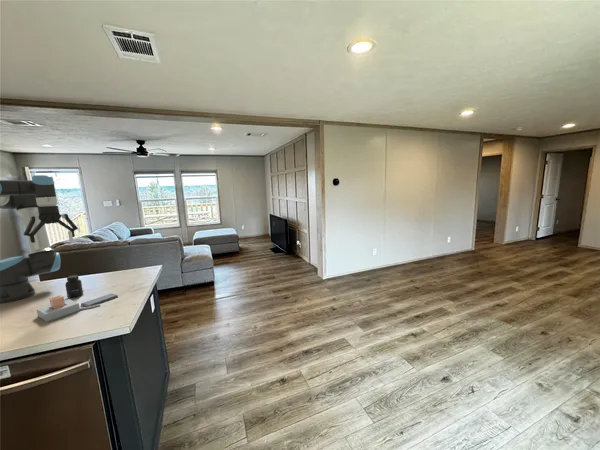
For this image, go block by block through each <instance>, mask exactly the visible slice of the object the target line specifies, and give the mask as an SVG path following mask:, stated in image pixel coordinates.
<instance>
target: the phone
mask: <svg viewBox="0 0 600 450" xmlns="http://www.w3.org/2000/svg"><path fill="white" fill-rule="evenodd" d="M116 298H119V296H118V295H117V294H115V293H108V294H106V295H103V296H99V297H96V298H94V299H91V300H88V301H84V302H81V303H80V306H82V307H83V308H84V307H88V306H93V305H98V304H103V303H105V302H108V301H110V300H111V301H112V300H114V299H116Z"/></svg>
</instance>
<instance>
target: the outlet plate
mask: <svg viewBox="0 0 600 450" xmlns="http://www.w3.org/2000/svg"><path fill="white" fill-rule="evenodd" d="M64 301H65V306H63V307H60V308H56V309H53V310H52V309H51V304H49V305H45V306H42V307H39V308H36V313H37V317H38V318H39V319H41V320H42V321H44V322H45V323H50V322H52V321H54V320H58V319H61V318H64V317H67V316H69V315H72V314H75V313H78V312H81V310H80V308H81V307H80V302H77V301H74V300H72V299H70V298H67V299H64Z"/></svg>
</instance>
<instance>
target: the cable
mask: <svg viewBox="0 0 600 450" xmlns="http://www.w3.org/2000/svg"><path fill="white" fill-rule="evenodd" d="M101 304H102V303H100V304H97V305H93V306H88V307H84V306H83V307H80V311H83V310H88V309H93V308H97V307H100V306H101Z"/></svg>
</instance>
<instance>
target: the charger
mask: <svg viewBox="0 0 600 450" xmlns="http://www.w3.org/2000/svg"><path fill="white" fill-rule="evenodd" d="M64 300H65V297H64V296H63V295H55V296H52V297H50V298H49V305H51V309H52V310H53V309H56V308H60V307H63V306H65V301H64Z"/></svg>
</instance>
